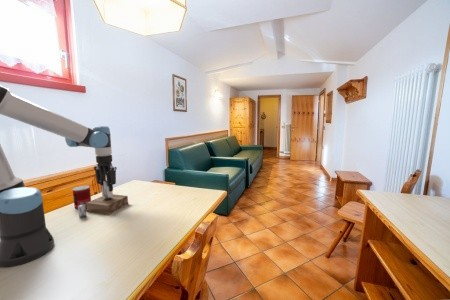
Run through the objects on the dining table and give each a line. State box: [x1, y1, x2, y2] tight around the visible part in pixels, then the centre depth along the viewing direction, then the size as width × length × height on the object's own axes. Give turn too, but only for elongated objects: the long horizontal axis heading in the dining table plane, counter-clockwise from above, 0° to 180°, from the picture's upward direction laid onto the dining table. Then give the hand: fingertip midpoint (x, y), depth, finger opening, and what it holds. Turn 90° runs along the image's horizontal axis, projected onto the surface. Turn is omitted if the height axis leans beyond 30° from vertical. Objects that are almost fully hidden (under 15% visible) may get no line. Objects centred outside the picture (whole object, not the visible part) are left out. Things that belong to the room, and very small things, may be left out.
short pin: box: [77, 204, 87, 219], centre depth 99 cm, size 3×3×6 cm
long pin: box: [103, 179, 111, 201], centre depth 109 cm, size 3×3×14 cm
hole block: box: [86, 193, 129, 216], centre depth 110 cm, size 14×14×5 cm
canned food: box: [72, 185, 92, 210], centre depth 112 cm, size 8×8×11 cm
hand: (107, 196), depth 109 cm, fingers closed on long pin, 3 cm apart
